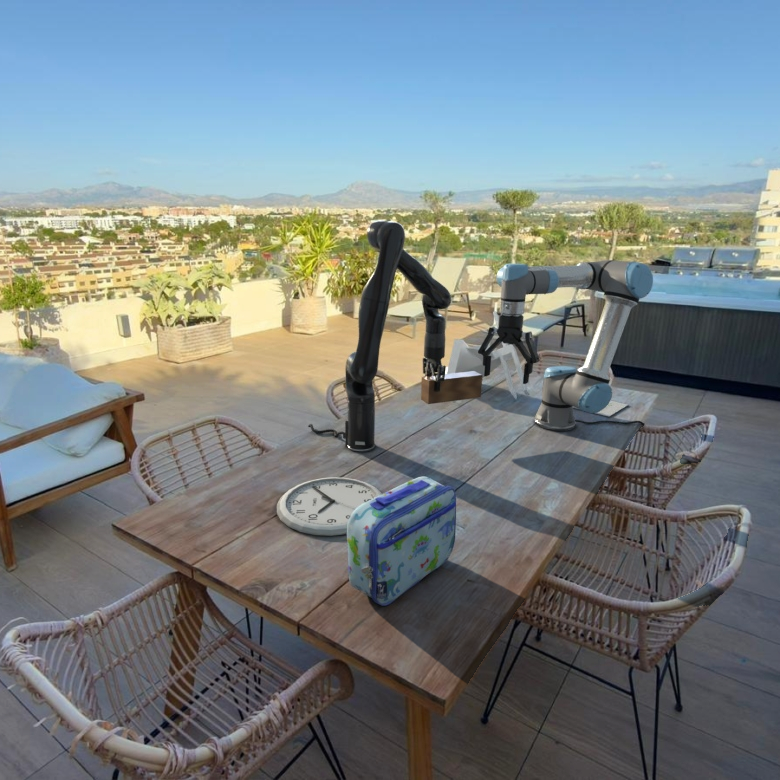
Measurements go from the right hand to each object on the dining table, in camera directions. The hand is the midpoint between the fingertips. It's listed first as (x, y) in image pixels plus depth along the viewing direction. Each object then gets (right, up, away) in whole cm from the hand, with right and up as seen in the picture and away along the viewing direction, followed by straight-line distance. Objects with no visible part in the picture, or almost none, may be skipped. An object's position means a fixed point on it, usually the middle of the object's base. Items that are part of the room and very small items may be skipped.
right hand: (505, 379), depth 170 cm
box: (-15, -7, +27) cm, 31 cm away
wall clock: (-54, -35, -28) cm, 70 cm away
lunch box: (-35, -44, -56) cm, 80 cm away
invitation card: (+54, -11, +56) cm, 78 cm away
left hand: (-22, -3, +22) cm, 31 cm away
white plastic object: (+4, -5, +73) cm, 73 cm away
